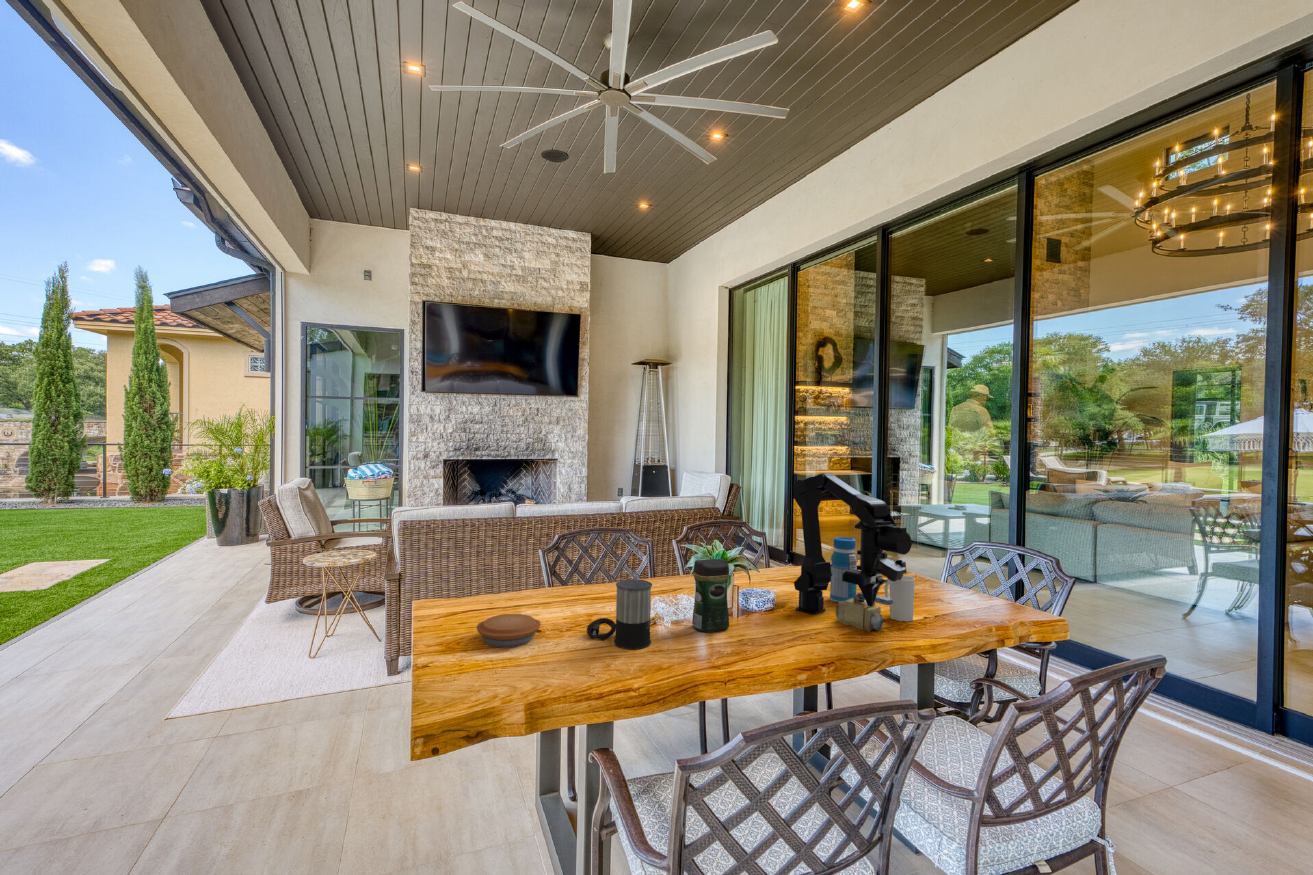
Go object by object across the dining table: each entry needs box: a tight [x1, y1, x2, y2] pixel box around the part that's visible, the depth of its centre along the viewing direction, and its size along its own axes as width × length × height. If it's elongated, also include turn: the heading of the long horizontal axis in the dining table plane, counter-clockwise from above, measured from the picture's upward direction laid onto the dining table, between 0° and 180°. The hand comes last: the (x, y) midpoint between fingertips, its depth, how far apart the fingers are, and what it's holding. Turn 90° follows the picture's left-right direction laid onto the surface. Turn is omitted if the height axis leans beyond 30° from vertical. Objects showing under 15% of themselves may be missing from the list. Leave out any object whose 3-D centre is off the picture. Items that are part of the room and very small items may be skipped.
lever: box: [853, 591, 893, 606], centre depth 158 cm, size 3×11×2 cm, turn 36°
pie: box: [476, 613, 542, 648], centre depth 143 cm, size 15×16×5 cm
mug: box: [884, 574, 916, 623], centre depth 169 cm, size 10×7×12 cm, turn 21°
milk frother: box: [586, 578, 653, 650], centre depth 144 cm, size 14×16×15 cm
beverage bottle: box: [829, 536, 859, 604], centre depth 185 cm, size 8×8×20 cm
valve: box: [835, 598, 884, 632], centre depth 161 cm, size 12×6×6 cm, turn 40°
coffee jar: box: [691, 558, 730, 633], centre depth 155 cm, size 10×8×19 cm
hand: (870, 605), depth 153 cm, fingers closed
